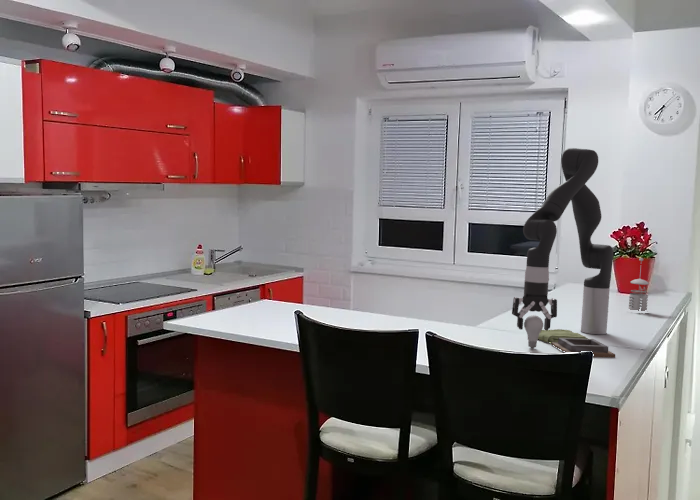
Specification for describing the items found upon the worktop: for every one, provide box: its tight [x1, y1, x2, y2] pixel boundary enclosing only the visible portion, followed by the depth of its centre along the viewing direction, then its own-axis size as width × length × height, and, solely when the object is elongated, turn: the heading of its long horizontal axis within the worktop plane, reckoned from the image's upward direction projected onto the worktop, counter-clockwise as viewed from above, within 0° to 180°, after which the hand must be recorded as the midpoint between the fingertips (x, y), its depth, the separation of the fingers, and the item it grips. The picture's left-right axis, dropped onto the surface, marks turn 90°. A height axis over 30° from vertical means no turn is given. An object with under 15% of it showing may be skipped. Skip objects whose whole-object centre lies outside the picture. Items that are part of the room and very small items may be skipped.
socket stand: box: [550, 338, 616, 358], centre depth 226 cm, size 16×15×3 cm
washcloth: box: [538, 328, 589, 344], centre depth 245 cm, size 13×18×3 cm
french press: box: [628, 257, 650, 311], centre depth 316 cm, size 10×12×25 cm
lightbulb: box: [523, 314, 544, 349], centre depth 227 cm, size 6×6×11 cm
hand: (533, 329), depth 227 cm, fingers open, 8 cm apart
